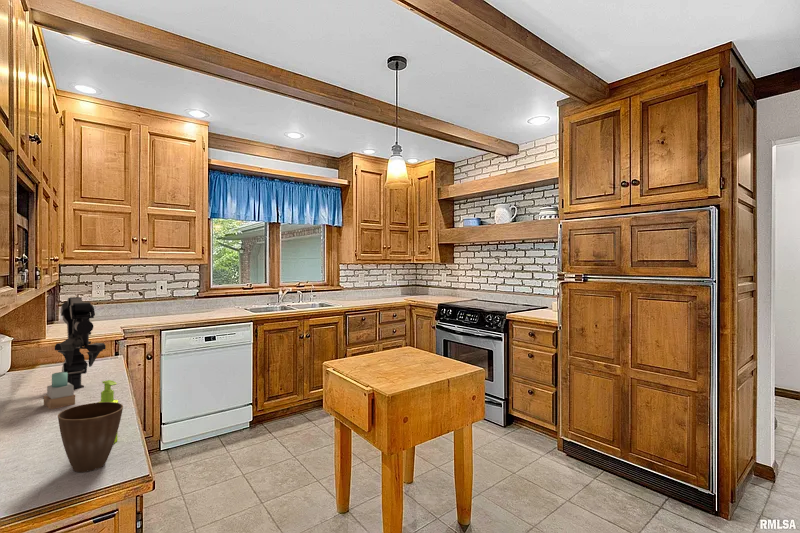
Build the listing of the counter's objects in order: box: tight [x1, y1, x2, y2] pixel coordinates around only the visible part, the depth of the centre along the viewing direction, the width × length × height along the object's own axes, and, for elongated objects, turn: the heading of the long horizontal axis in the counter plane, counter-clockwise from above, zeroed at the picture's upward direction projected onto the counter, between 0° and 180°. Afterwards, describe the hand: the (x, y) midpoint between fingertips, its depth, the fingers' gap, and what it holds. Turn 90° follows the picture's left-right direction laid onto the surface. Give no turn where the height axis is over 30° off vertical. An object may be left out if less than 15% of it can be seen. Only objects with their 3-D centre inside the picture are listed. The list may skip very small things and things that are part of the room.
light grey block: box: [46, 382, 75, 399], centre depth 170 cm, size 7×7×4 cm
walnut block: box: [43, 394, 76, 410], centre depth 170 cm, size 8×8×4 cm
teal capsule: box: [51, 371, 68, 387], centre depth 170 cm, size 5×5×5 cm
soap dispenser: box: [99, 379, 119, 444], centre depth 134 cm, size 6×7×20 cm
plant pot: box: [57, 401, 124, 473], centre depth 118 cm, size 15×15×16 cm
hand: (79, 366), depth 183 cm, fingers open, 9 cm apart
